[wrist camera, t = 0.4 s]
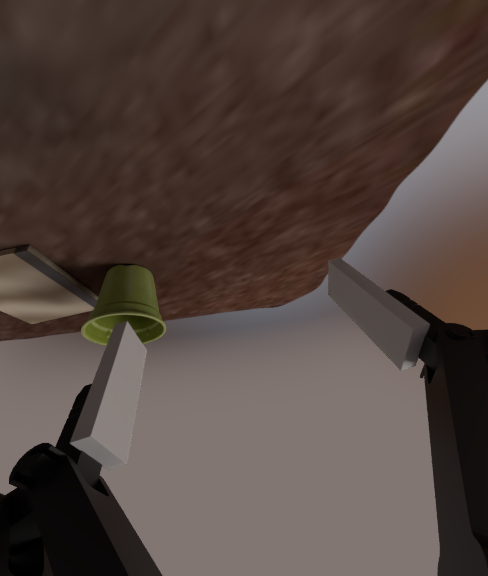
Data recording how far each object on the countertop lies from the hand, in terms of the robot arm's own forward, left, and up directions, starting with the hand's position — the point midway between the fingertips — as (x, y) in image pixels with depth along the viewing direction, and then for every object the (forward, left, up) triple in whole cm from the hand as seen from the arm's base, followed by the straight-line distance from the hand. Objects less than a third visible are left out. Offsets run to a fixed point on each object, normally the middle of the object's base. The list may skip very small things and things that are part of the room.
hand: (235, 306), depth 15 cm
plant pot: (+13, -14, -15) cm, 25 cm away
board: (+11, -27, -15) cm, 33 cm away
